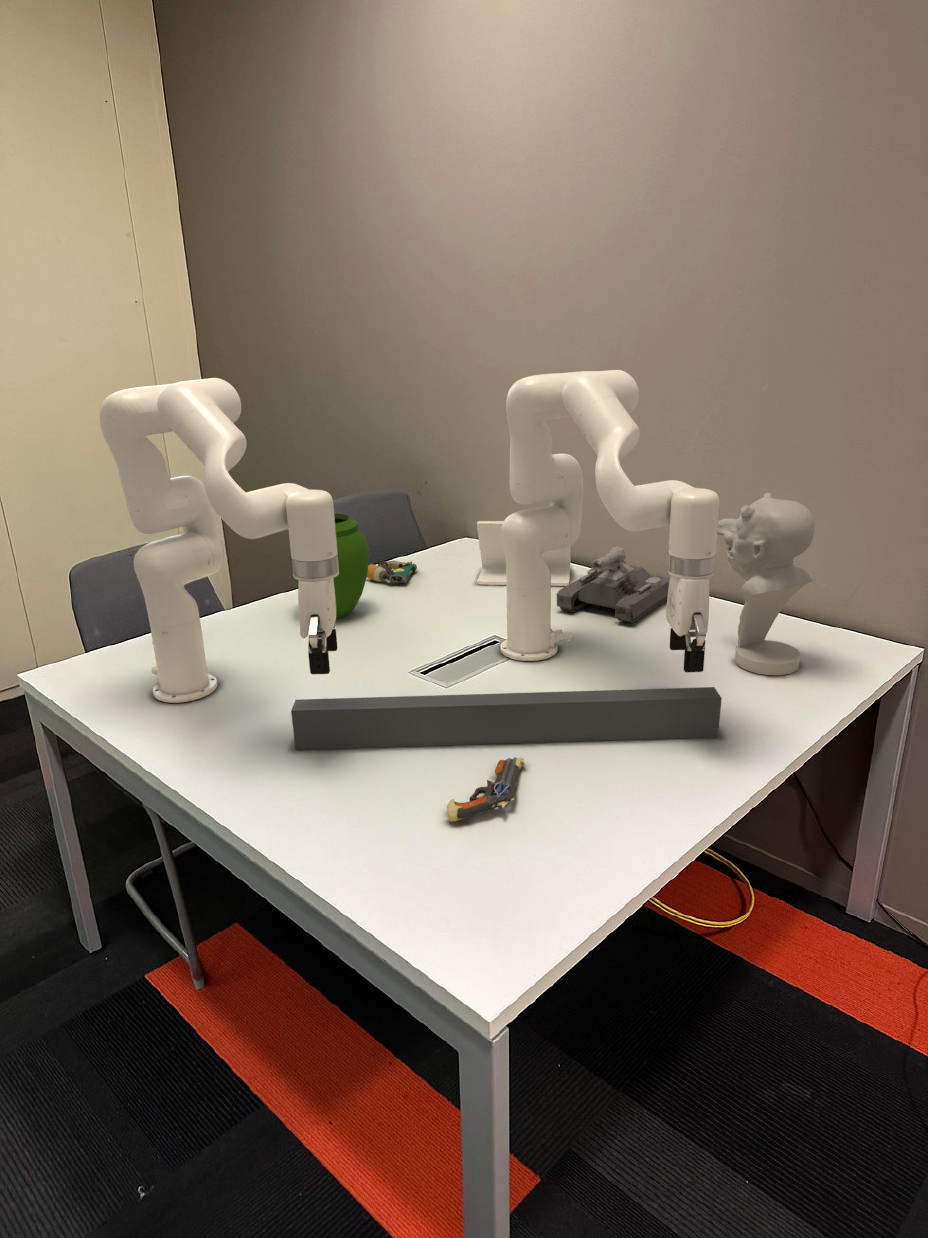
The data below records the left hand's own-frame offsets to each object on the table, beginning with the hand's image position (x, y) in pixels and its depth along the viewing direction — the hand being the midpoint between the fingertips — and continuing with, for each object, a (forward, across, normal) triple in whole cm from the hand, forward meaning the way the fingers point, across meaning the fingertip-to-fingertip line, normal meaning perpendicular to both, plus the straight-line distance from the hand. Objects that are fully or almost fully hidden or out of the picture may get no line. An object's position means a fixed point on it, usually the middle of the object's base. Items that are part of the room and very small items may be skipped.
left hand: (324, 661), depth 146 cm
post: (+16, 0, +31) cm, 35 cm away
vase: (+16, -66, -8) cm, 69 cm away
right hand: (+2, 0, +62) cm, 62 cm away
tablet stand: (+16, -93, +42) cm, 103 cm away
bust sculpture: (+16, -31, +84) cm, 91 cm away
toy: (+16, -67, +62) cm, 93 cm away
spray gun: (+16, -96, +5) cm, 97 cm away
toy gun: (+16, +18, +27) cm, 36 cm away
